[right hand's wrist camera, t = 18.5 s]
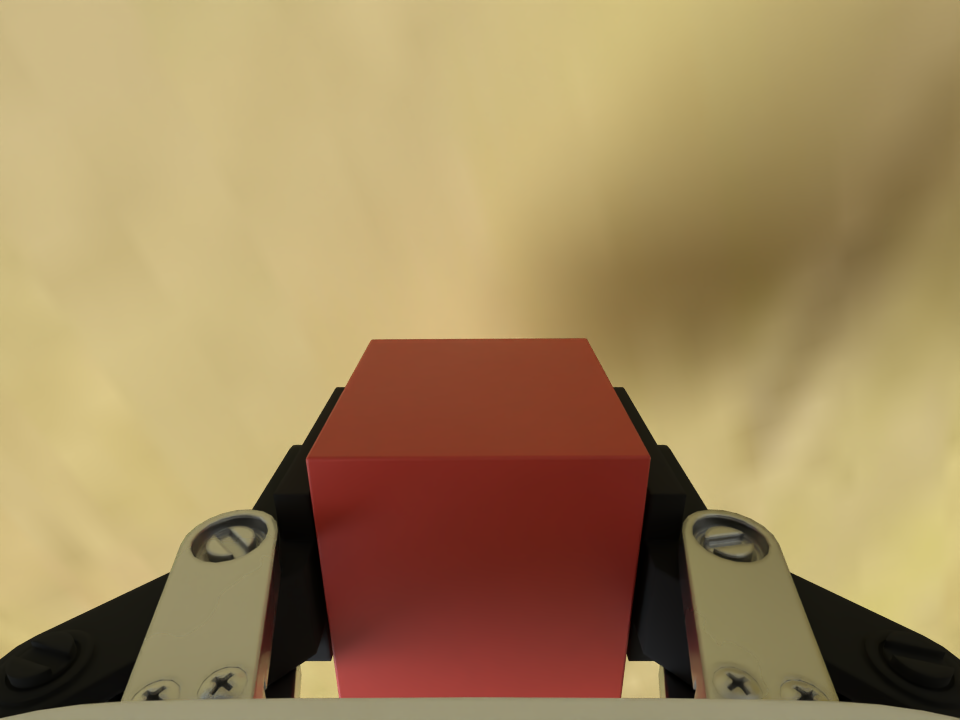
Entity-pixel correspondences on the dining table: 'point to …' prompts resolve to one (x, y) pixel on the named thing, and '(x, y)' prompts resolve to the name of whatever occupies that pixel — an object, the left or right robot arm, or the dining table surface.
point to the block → (479, 521)
